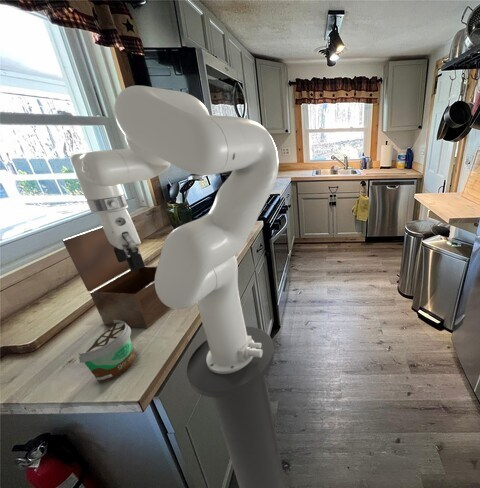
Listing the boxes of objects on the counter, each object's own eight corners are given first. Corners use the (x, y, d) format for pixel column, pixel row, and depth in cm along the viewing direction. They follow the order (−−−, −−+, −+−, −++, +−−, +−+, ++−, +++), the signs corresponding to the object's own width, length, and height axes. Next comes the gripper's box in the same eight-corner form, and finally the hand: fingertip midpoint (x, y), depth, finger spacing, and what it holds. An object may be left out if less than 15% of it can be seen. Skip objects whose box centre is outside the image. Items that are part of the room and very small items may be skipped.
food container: (121, 385, 60) (105, 353, 56) (94, 388, 60) (76, 355, 56) (150, 346, 72) (139, 316, 68) (127, 347, 71) (115, 318, 68)
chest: (185, 295, 95) (176, 266, 90) (147, 328, 79) (134, 295, 74) (148, 293, 97) (137, 265, 93) (104, 324, 81) (89, 292, 77)
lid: (121, 220, 86) (119, 220, 86) (64, 240, 70) (62, 240, 70) (138, 264, 92) (136, 264, 92) (89, 291, 76) (87, 291, 77)
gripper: (138, 204, 63) (159, 267, 69) (115, 197, 72) (135, 253, 79) (100, 211, 57) (126, 279, 64) (80, 203, 67) (105, 262, 74)
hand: (131, 264), depth 71 cm, fingers open, 9 cm apart
